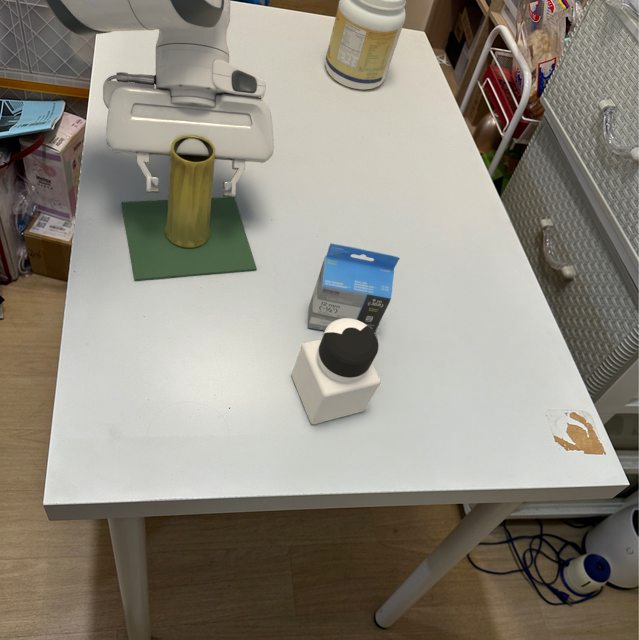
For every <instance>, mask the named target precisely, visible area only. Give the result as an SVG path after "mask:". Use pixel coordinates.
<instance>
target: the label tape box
mask: <svg viewBox="0 0 639 640" xmlns="http://www.w3.org/2000/svg"><path fill="white" fill-rule="evenodd" d="M352 255H356V256H365V257H366V258H369V259H373V260H369V259H364V258H360V257H359V258H358V257H353V256H352ZM400 260H401V258H400V257H399V256H397V255H392V254H388V253H384V252H378V251H375V250H369V249H366V248H365V249H364V248H360V247H356V246H355V247H353V246H350V245H344V244H338V243H335V242H330V244H329V246H328V248H327V252H326V255H325V256H324V257H323V261H322V264H321V267H320V271H319V274H318V277H317V279H316V283H315V285H314V289H313V293H312V296H311V298H310V302H309V305H308V319H307V328H308V329H313V330H320V331H325V330H326V328H327V327H328V325H329V324H330V323H332V322H333V321H335V320H338V319H343V318H349V319H355V320H358V321H361V322H363V323H364V324H366V325H367V326H368V327H369V328H371V330H372V331H373V332H374V333H375V334H376V331H377V329H378V327H379V325H380V323H381V321H382V319H383V317H384V315H385V313H386V311H387V308H389V305H390V303H391V301H392V294H393V287H394V277H395V268H396V266H397V264H398V262H399V261H400Z"/></svg>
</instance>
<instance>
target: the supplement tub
mask: <svg viewBox="0 0 639 640" xmlns="http://www.w3.org/2000/svg"><path fill="white" fill-rule="evenodd" d="M337 5H338V6H337V10H336V14H335V17H334V18H335V19H334V22H333V27H332V31H331V35H330V40H329V44H328V48H327V51H326V54H325V69H326V71H327V72H328V74H329V75H330V77H331V78H332V79H333V80H335V81H336V82H337V83H339V84H341V85H343V86H345V87H347V88H351V89H354V90H355V89H356V90H363V91H364V90H372V89H375V88H378V87H379V86H380V85H382V84H383V83H384V81H385V80H386V77H387V74H388V72H389V69H390V66H391V62H392V59H393V56H394V53H395V50H396V48H397V44H398V42H399V38H400V35H401V33H402V29H403V26H404V24H405V22H406V9H405V8H406V7H405V6H406V5H407V0H338V4H337Z"/></svg>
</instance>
